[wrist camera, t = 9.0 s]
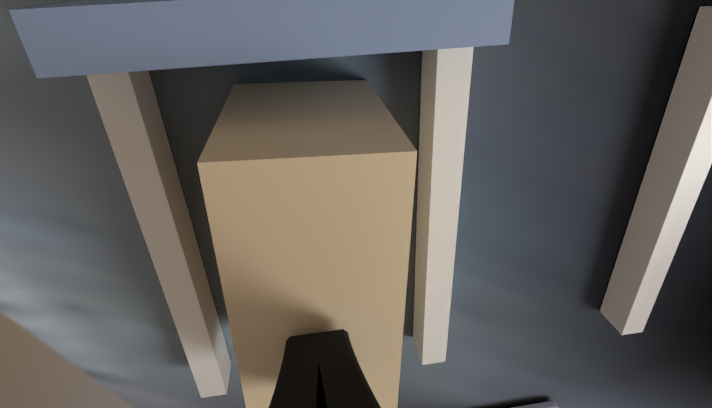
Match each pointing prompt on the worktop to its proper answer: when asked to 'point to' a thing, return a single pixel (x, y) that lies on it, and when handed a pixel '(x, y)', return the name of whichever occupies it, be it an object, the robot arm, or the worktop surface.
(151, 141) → the divider organiser
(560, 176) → the worktop surface
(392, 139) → the tall tan wooden block
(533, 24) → the worktop surface
